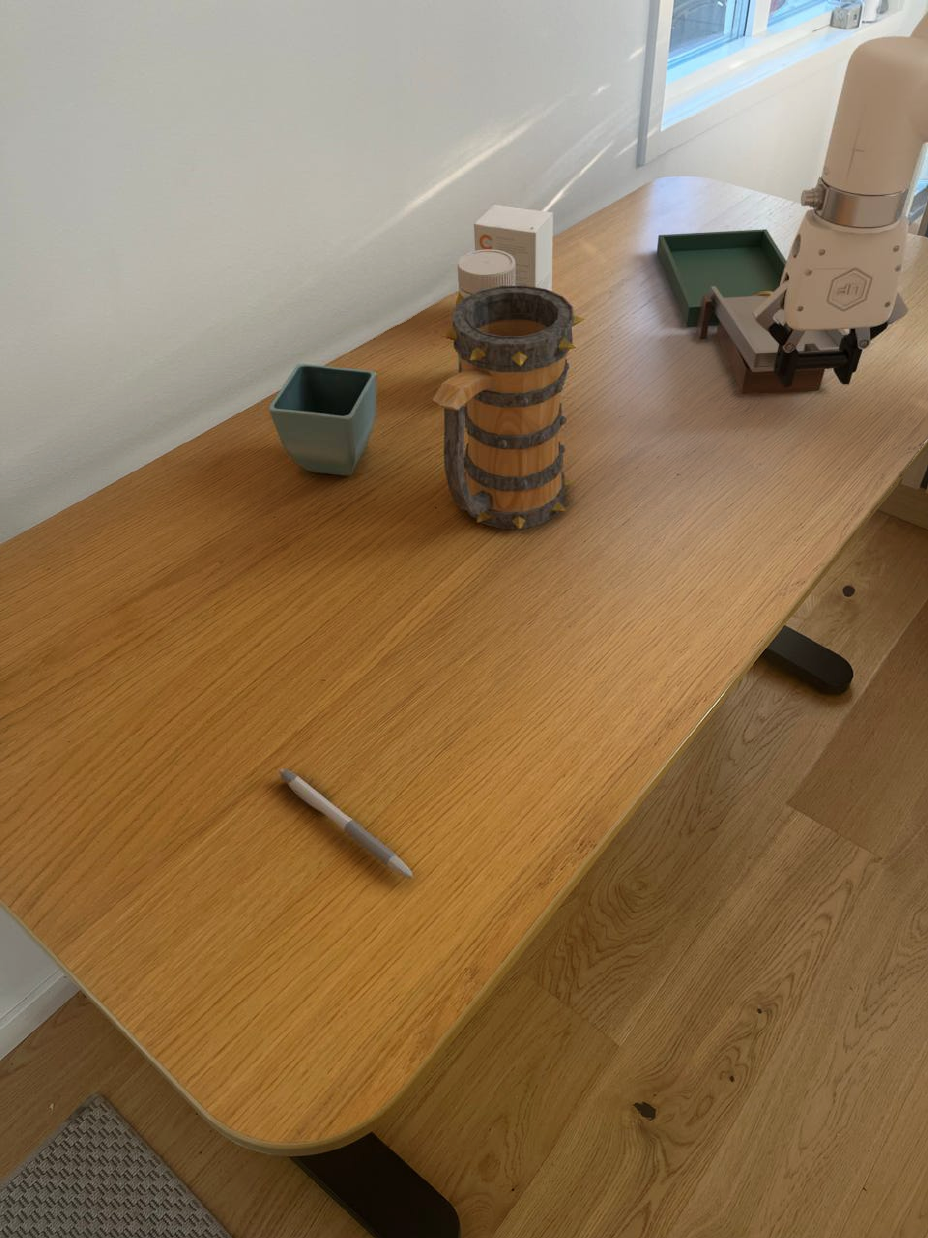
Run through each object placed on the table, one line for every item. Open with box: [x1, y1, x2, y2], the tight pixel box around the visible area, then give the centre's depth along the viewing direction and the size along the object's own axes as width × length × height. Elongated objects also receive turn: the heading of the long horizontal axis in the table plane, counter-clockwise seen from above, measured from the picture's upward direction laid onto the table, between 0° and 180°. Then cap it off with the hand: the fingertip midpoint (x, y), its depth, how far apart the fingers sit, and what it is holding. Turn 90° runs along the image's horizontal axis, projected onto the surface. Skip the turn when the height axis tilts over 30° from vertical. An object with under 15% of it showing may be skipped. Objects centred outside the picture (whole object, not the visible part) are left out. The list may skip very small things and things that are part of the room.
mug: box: [432, 285, 586, 530], centre depth 85 cm, size 13×17×20 cm
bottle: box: [455, 249, 515, 365], centre depth 102 cm, size 7×7×15 cm
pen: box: [278, 768, 414, 879], centre depth 66 cm, size 1×14×1 cm, turn 49°
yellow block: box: [753, 291, 773, 296], centre depth 115 cm, size 6×2×1 cm
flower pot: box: [268, 363, 377, 477], centre depth 95 cm, size 9×9×9 cm
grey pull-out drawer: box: [710, 286, 849, 372], centre depth 102 cm, size 24×11×3 cm, turn 2°
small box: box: [473, 204, 554, 291], centre depth 114 cm, size 8×6×13 cm
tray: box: [656, 228, 787, 328], centre depth 122 cm, size 21×15×3 cm
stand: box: [696, 294, 826, 394], centre depth 108 cm, size 14×13×5 cm
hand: (812, 377), depth 95 cm, fingers closed on grey pull-out drawer, 5 cm apart
